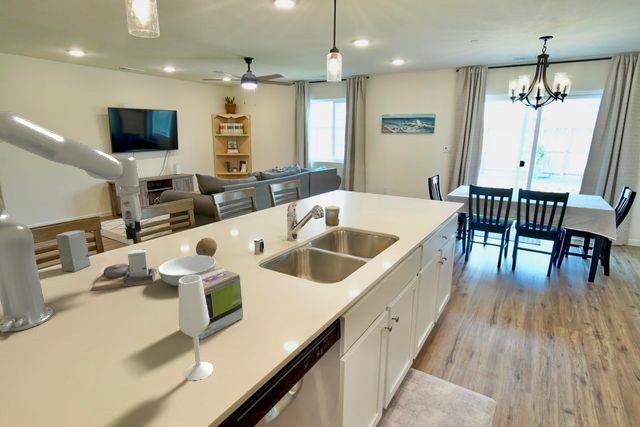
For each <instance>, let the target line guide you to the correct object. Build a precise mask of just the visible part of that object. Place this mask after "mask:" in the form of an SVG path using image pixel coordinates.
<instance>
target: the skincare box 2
mask: <svg viewBox="0 0 640 427" xmlns="http://www.w3.org/2000/svg"><path fill="white" fill-rule="evenodd" d="M127 259H128V265H129V269H130V277H137V276H145V275H149V274H148V268H149V267H148V256H147V248H143V249H135V250H134V249H132V250H131V249H130V250H128V254H127Z"/></svg>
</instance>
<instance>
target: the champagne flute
mask: <svg viewBox="0 0 640 427" xmlns="http://www.w3.org/2000/svg"><path fill="white" fill-rule="evenodd" d="M208 324H209V315H208V310H207V304H206V299H205V294H204V289H203V284H202V279H201V276H199V275H187V276H184V277H182V278H180V279H179V292H178V327H179V330H180V331H181V332H182V333H183V334H184V335H187V336H189V337H192V341H193V350H194V351H193V352H194V360H195V361H194V362H195V363H193V364H192V365H190V366H188V367H187V368H186V369H185V371H184V373H185V376H186V378H188V379H189V380H188V381H190V380H198V381H201V380H200V379H202V380H205V379H206V378H208V377H209V376H210V375H211V374H212V373H213V371H214V366H213V364H212V363H210V362H208V361H201V360H202V359H201V351H200V350H201V349H200V340H199V338H198V336H199V335H200V334H201V333H202V332H203V331H204V330H205V329H206V328H207V326H208ZM185 376H184V377H185ZM186 378H185V379H186Z"/></svg>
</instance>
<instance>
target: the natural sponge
mask: <svg viewBox="0 0 640 427" xmlns="http://www.w3.org/2000/svg"><path fill="white" fill-rule="evenodd" d="M217 248H218V246H217V241H216V240H214V239H213V238H210V237H204V238H201V239H200V240H199V241H198V242H197V244H196V246H195V252H196V255H205V256H210V257H213V256H214V255H215V253H216V251H217Z"/></svg>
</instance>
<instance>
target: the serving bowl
mask: <svg viewBox="0 0 640 427" xmlns="http://www.w3.org/2000/svg"><path fill="white" fill-rule="evenodd" d="M216 265H217V260H216V259H215V258H214V257H213V256H212V257H210V256H205V255H198V254H192V255H190V254H189V255H183V256H179V257H178V256H177V257H176V258H172V259H170V260H169V259H168V260H167V261H165V262H163V263H162V264H160V265H159V266H158V267H157V268H158V270H157V272H158V275H159V277H160V279H161V280H162V281H163V282H165V283H166V284H168V285H171V286H175V287H176V286H177V287H178V283H179V279H180V278H182V277H184V276H187V275H202V274H205V273H207V272H210V271H213V270H215V269H216Z"/></svg>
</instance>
